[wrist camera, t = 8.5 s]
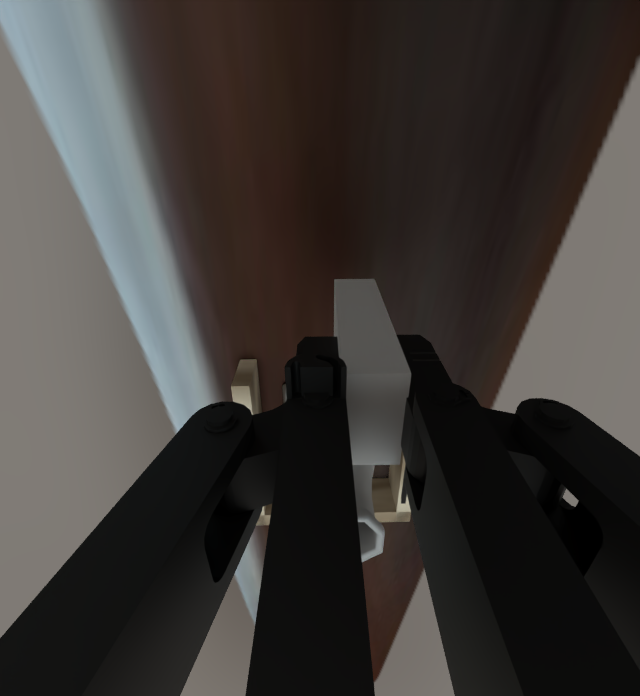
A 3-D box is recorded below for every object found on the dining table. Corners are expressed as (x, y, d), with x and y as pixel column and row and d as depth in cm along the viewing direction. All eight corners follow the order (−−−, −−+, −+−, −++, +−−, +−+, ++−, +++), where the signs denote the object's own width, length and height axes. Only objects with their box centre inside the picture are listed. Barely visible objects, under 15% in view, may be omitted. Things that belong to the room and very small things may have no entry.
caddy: (240, 359, 23) (230, 386, 20) (416, 356, 23) (430, 382, 20) (257, 490, 28) (251, 525, 26) (400, 487, 28) (409, 521, 26)
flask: (399, 429, 26) (446, 572, 17) (302, 456, 27) (298, 604, 18) (373, 342, 23) (414, 462, 14) (264, 376, 24) (236, 508, 15)
